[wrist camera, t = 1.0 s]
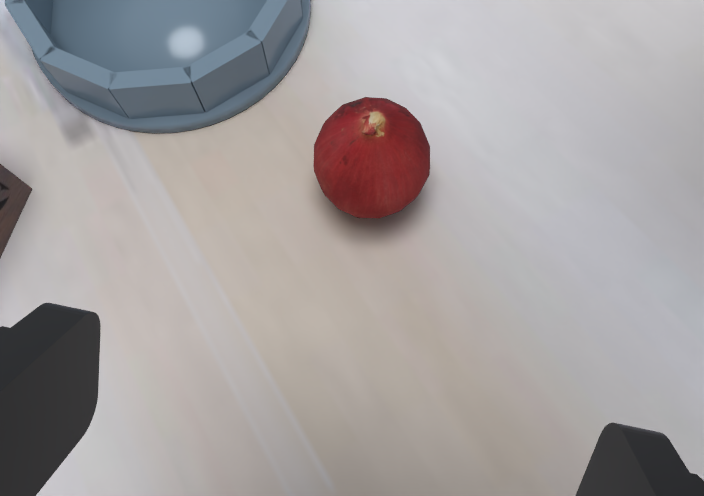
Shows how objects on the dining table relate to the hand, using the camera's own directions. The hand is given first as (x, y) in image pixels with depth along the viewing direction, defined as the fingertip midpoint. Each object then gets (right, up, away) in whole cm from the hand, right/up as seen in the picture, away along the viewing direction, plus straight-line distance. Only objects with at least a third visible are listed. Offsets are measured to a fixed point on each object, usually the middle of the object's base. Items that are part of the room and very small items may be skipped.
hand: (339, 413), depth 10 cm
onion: (+1, +6, +24) cm, 25 cm away
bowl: (-11, +17, +28) cm, 35 cm away
